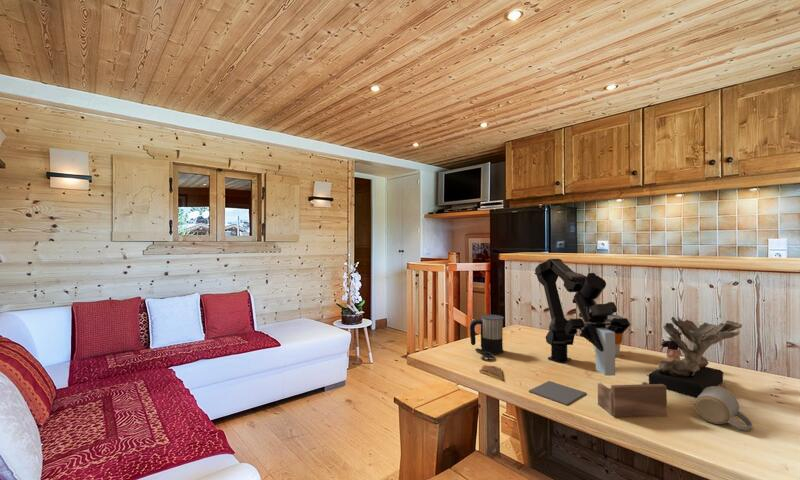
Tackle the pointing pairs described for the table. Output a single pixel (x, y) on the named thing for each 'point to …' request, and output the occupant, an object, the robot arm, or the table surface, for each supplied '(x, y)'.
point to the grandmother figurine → (671, 349)
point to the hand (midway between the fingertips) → (607, 350)
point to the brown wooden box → (634, 400)
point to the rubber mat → (557, 392)
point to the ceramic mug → (720, 407)
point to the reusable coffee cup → (617, 336)
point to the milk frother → (489, 335)
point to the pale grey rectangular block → (606, 352)
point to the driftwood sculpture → (692, 357)
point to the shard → (492, 371)
